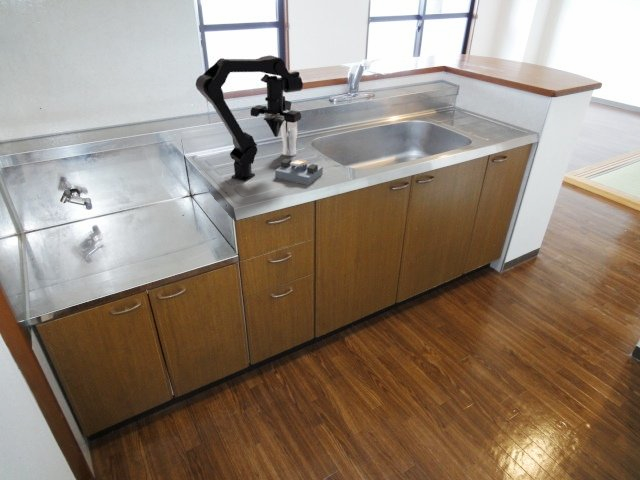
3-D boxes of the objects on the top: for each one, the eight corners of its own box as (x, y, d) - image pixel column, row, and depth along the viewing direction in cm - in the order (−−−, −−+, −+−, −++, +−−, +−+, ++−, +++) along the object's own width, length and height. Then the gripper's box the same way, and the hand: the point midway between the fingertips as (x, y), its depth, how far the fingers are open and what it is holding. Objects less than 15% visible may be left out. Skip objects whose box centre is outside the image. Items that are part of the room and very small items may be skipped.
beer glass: (298, 151, 184) (298, 116, 177) (296, 157, 179) (296, 121, 171) (282, 150, 185) (282, 116, 177) (279, 156, 179) (279, 120, 171)
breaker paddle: (298, 166, 155) (298, 164, 155) (289, 164, 156) (290, 162, 156) (308, 163, 162) (308, 160, 162) (299, 161, 163) (300, 159, 163)
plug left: (286, 168, 160) (286, 163, 159) (281, 166, 161) (280, 161, 160) (291, 164, 163) (291, 159, 162) (286, 163, 164) (286, 158, 163)
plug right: (312, 173, 156) (312, 168, 155) (307, 172, 157) (307, 167, 156) (317, 170, 159) (317, 165, 158) (311, 168, 160) (312, 163, 159)
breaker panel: (308, 185, 155) (308, 172, 152) (275, 177, 160) (274, 164, 157) (322, 174, 164) (322, 161, 161) (290, 167, 169) (290, 154, 166)
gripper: (308, 92, 155) (307, 134, 163) (264, 86, 162) (266, 127, 170) (293, 99, 146) (293, 142, 155) (248, 92, 153) (251, 134, 161)
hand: (276, 136), depth 160 cm, fingers closed
